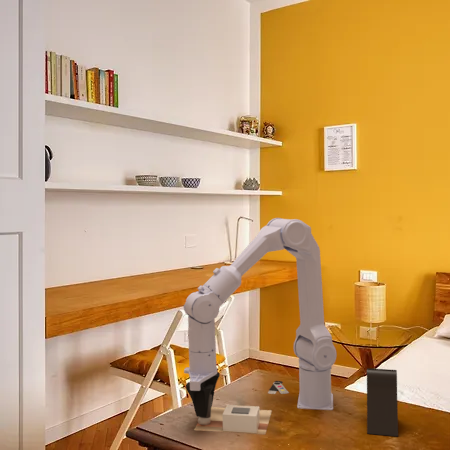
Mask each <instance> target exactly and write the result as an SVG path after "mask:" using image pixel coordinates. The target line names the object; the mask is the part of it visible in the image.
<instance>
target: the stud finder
mask: <svg viewBox="0 0 450 450" xmlns="http://www.w3.org/2000/svg"><path fill="white" fill-rule="evenodd" d="M224 408H225V410H224V412H223V414H222V416H223V431H231V432H247V433H257V430H258V427H259V424H260V410H261V409H260V406H259V405H257V406H256V405H255V406H254V405H236V404H226V406H225V407H224ZM231 432H230V433H231ZM247 433H246V434H247Z"/></svg>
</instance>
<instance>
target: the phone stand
mask: <svg viewBox="0 0 450 450" xmlns="http://www.w3.org/2000/svg"><path fill="white" fill-rule="evenodd" d="M366 368H367V369H366V426H367V427H366V433H367V435H377V436H388V437H389V436H390V437H399V417H398V416H399V415H398V414H399V413H398V412H399V411H398V371H397V369H389V368H388V369H386V368H385V369H383V368H370V367H369V368H368V367H366Z"/></svg>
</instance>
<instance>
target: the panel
mask: <svg viewBox="0 0 450 450" xmlns="http://www.w3.org/2000/svg"><path fill="white" fill-rule="evenodd" d="M225 408H226V407H217V406H216V407H215V406H214V407H213V406H212V407H211V421H210V424H209V425H201V424H199V423H198V422H196V425H195V427H194V429H193V431H200V432H201V431H202V432H203V431H204V432H218V433H219V432H221V433H234V434H235V433H236V434H251V435H266V433H267V430H268V427H269V422H270V420H271V415H272V412H273V410H271V409H269V410H268V409H259V410H260V424H259V427H258V430H257V433H247V432H231V431H223V416H222V414H223V412H224V410H225Z"/></svg>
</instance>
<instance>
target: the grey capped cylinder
mask: <svg viewBox="0 0 450 450" xmlns="http://www.w3.org/2000/svg"><path fill="white" fill-rule="evenodd" d="M211 404H212V405H213V403H212V395H211V394H210V397H209V405H208V413H207V416H206V417H198V419H197V423H199V424H201V425H209V424H210V421H211Z"/></svg>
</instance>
